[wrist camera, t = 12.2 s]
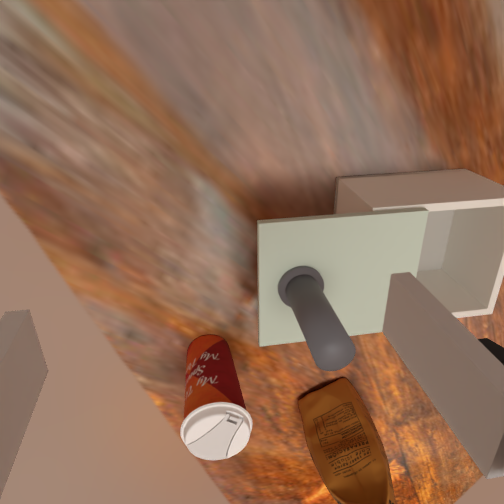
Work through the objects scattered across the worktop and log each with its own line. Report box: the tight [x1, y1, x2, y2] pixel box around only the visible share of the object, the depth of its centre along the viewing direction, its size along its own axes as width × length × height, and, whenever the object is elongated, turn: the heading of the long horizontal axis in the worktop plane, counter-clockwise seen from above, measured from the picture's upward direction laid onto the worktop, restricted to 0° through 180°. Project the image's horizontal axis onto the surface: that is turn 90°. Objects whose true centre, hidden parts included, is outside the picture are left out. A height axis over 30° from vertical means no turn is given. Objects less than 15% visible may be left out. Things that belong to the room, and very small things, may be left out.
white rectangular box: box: [334, 169, 504, 318], centre depth 48 cm, size 14×16×10 cm
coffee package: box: [298, 378, 396, 504], centre depth 56 cm, size 10×12×22 cm
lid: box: [257, 208, 429, 371], centre depth 37 cm, size 14×16×11 cm
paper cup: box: [181, 335, 252, 460], centre depth 50 cm, size 8×8×14 cm
